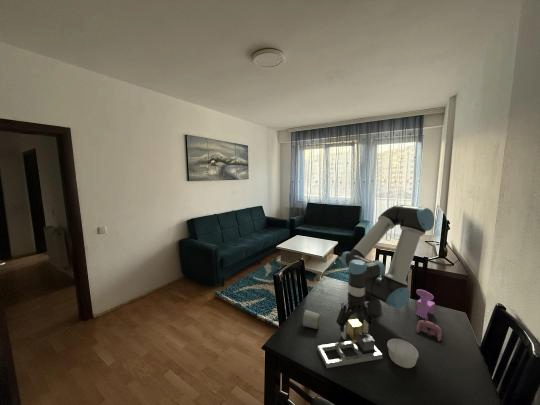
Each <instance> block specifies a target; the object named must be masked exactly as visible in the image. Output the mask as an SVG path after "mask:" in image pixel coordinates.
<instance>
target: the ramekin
mask: <svg viewBox="0 0 540 405" xmlns="http://www.w3.org/2000/svg"><path fill="white" fill-rule="evenodd" d="M386 347H387V351H388V355H389V358H390V359H391V361H392V362H394V364H396V365H398V366H399V367H402V368H405V369H411V368H413V367H415V366H416V364H417V360H418V359H419V357H420V356H419V351H418V350H417V348H416V347H415V346H414V345H413V344H411V343H410V342H408V341H406V340H403V339H400V338H391V339H389V340H388V341H387V343H386Z"/></svg>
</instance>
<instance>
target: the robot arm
mask: <svg viewBox="0 0 540 405" xmlns="http://www.w3.org/2000/svg"><path fill="white" fill-rule="evenodd" d="M396 226H399V228H400V230H401V232H400V235H399V238H398V241H397V244H396V247H395V249H394V253H393V256H392V259H391V262H390V263H389V264H390V265H389V267H388V270H387V272H386V266H385V264H384V263H383V261H380V260H371V259H367V258H366V257H368V256H369V254H370V253H371V251H373V249H374V248H375V247H376V246H377V245H378V244H379V242H380V241H381V240H382V239H383V238H384V236H386V234H387V233H389V231H390V230H392V229H394V228H395V227H396ZM434 226H435V215H434V213H433V211H432V209H431V208H428V207H423V206H415V205H406V204H396V205H394V206H391V207H389V208H388V209H386V210H384V211H383V212H382V213H381V214H380V215H379V216H378V217H377V221H376V222H375V224H373V226H372V227H371V228H370V229H369V230H368V231H367V233H365V235H364V236H363V237H362V238H361V239H360V240H359V242H357V244H355V246H354V247H353V248H352V249H351V251H343V252H342V254H341V257H340V261H341V263H342V264H343V265H345V266H346V267H348V285H347V288H348V289H347V303H344V302H343V303H341V308H340V310H339V313H338V316H337V318H336V323H337V324H338V326H339V330H340V336H341V337H342V339H343V340H346V339H347V338H346V337H347V336H346V333H347V325H346V324H347V323H348V320H350V318H351V316H353V315H354V314H356V313H360V314H361V315H362V317H363V318H364V320H363V324H362V325H363V333H366V332H368V333H369V329H370V325H371V324H372V322H374V321H375V320H374V317H377V316H378V317H379V316H380V315H382V313H383V306H382V303H384V304H386V305H387V306H390V307H392V308H393V309H397V310H398V309H402V308H403V307H404V306H406V305H407V304H408V303H409V300H410V299H411V291H410V289H409V288H408V285H409V284H408V282H407V277H408V275H409V271H410V268H411V265H412V263H413V259H414V257H415V253H416V251H417V248H418V244H419V242H420V238H421V237H422V236H424V235H425V234H426V232H428V231H431V230H433V228H434ZM381 302H382V303H381Z"/></svg>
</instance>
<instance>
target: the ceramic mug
mask: <svg viewBox="0 0 540 405" xmlns="http://www.w3.org/2000/svg"><path fill="white" fill-rule="evenodd" d="M320 323H321V314H320V313H317V312H314V311H311V310H308V309H304V313H303V317H302V325H303V326H302V327H306V328H310V329H314V330H319V329H320V325H321V324H320Z"/></svg>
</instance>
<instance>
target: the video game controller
mask: <svg viewBox="0 0 540 405" xmlns="http://www.w3.org/2000/svg"><path fill="white" fill-rule="evenodd" d="M428 329H430V330H428ZM421 330H422V332H424V333H428V332H429V334H430V335H431V336H432V335H433V336H436V340H437V341H438V342H440V341H441V340H442V332H443V331H442V328H441V327H440V326H439V325H437V324H436V323H434V322H431V321H429V320H426V319H421V320H418V321H417V323H416V330H415V331H416V333H417V334H419V333H420V331H421Z"/></svg>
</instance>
